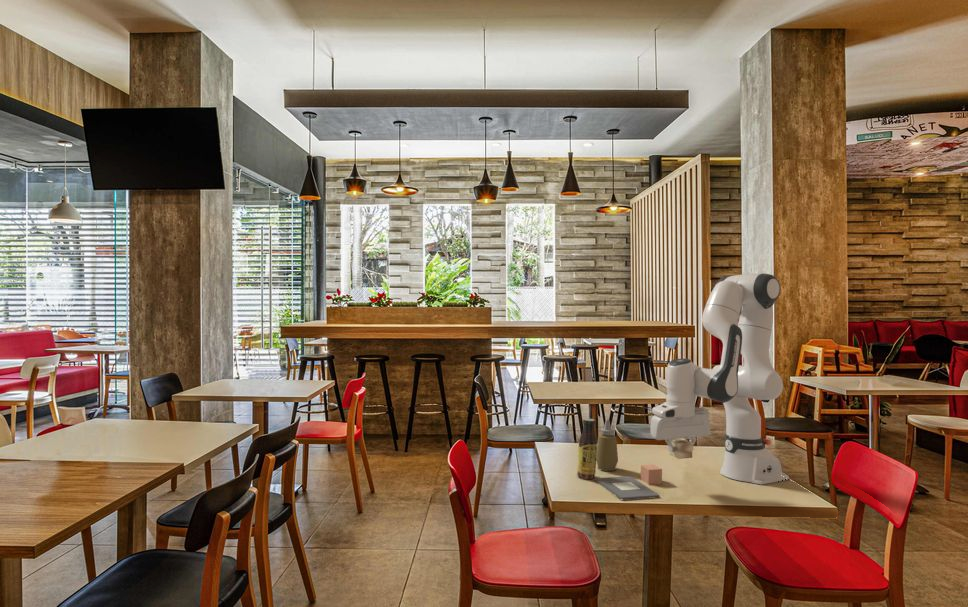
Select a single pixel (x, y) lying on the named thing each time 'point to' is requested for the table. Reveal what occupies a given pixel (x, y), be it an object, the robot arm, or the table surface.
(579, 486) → the table surface
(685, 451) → the birch block
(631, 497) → the board
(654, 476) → the terracotta block
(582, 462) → the sauce bottle
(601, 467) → the squeeze bottle
